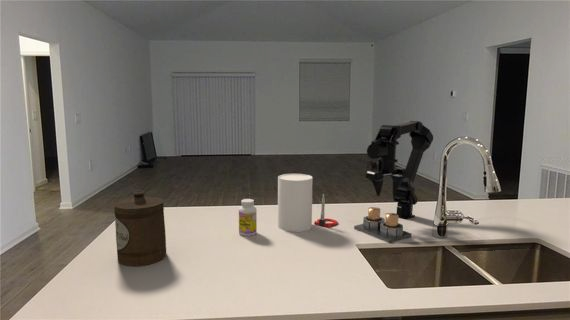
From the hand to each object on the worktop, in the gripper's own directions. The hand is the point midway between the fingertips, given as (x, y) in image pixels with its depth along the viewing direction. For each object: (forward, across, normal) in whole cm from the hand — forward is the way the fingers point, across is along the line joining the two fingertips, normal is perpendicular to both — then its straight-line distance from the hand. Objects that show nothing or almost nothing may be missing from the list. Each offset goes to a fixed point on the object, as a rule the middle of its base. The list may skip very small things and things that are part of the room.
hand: (386, 194), depth 163 cm
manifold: (+12, +10, +8) cm, 18 cm away
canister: (+12, +34, -16) cm, 40 cm away
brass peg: (+11, +10, +3) cm, 15 cm away
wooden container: (+12, +93, -16) cm, 95 cm away
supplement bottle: (+12, +54, -18) cm, 58 cm away
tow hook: (+12, +21, -12) cm, 27 cm away
